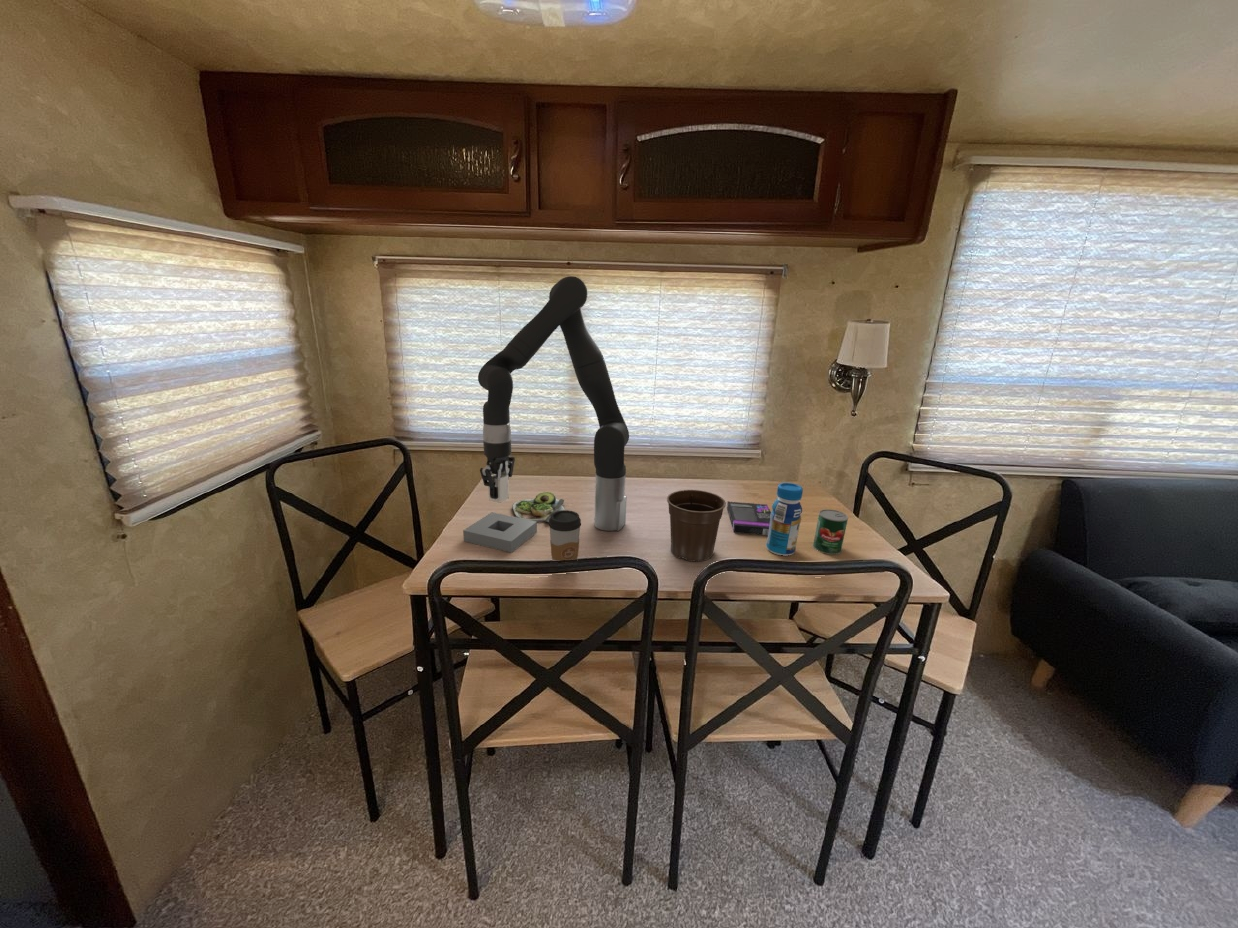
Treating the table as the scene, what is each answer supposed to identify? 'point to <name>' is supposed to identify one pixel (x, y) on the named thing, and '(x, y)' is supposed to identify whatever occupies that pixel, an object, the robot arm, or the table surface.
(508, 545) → the outlet box
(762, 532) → the box
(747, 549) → the table surface
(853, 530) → the table surface
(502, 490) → the block
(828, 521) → the canned tomato
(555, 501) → the avocado toast plate
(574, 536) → the coffee cup
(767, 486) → the table surface
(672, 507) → the plant pot
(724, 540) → the table surface
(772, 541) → the beverage bottle
